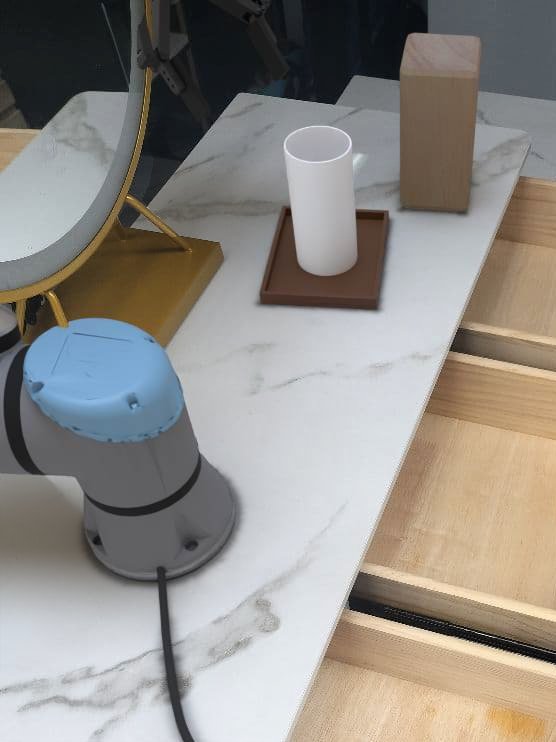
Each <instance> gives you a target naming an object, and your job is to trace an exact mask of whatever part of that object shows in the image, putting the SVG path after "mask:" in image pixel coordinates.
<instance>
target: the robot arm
mask: <svg viewBox="0 0 556 742" xmlns="http://www.w3.org/2000/svg"><path fill="white" fill-rule="evenodd" d="M179 1H180V0H150V3H149V4H150V5H151V9H150V11H151V33H150V29H149V25H148V21H147V15H146V12H145V13H144V16H143V18H142V22H140V23H141V24H139V25H138V30H137V54H139V52H140V51H142V53H141V55H140V56H139V57H138V58H137V63H138V64H136V66H137V65H138V66H137V67H138V68H139V69H140V70H143V71H145V70H146V69H147V68H149V70H150V71H152V73H155V74H157V73H160V75H161V77H162V78H163V80H164V81H165V83H166V85H167V86H168V87H169V89H170V90H171V92H172V93H173V95H175V96H178V95H180V97H181V100H183V102H184V103H185V105H186V107H187V108H188V109H189V111H190V113H191V114H192V116H193V117H194V119H195V121H196V122H197V123H200V122H202V121H203V120H204V119H205V118H206V117H207V116H208V115H209V114H210V113H211V112H212V111H213V110H212V108H211V106H210V104H209V103H208V101H207V100H206V98H205V97H204V95H203V93H202V91H201V90H200V89H199V87H198V85H197V84H196V82H195V81H194V79H193V77H192V76H191V74H190V72H189V71H188V69H187V67H186V66H185V64H183V62H182V60H181V58H180V57H179V56H178V54H177V55H174V56H172V57H170V56H171V54H170V52H171V50H170V49H171V45H170V44H171V23H170V22H171V5H174V4H177V3H178V2H179ZM208 1H209V2H211V3H212V4H214V5H215V6H218V8H220V9H222V10H224V11H225V12H227V13H229V14H230V15H232V16H233V17H235V18H236V19H238V20H240V21H242V22H243V23H245V24H246V25H248V27H247V28H246V29H245V32H246V34H247V35H248V37H249V39H250V40H251V42H252V44H253V46H254V48H255V49H256V51H257V52H258V54H259V56H260V57H261V59H262V61H263V62H264V64H265V66H266V67H267V69H268V71H269V72H270V75H271V76H272V78H273V80H274V81H275V82H278V81H280V80H281V79H282V78H283V77H284V76H285V75H286V74H287V73H288V72H289V71H290V70H291V68H290V66H289V64H288V62H287V61H286V59H285V58H284V56H283V53H282V52H281V51H280V49H279V47H278V45H277V43H278V40H277V37H276V35H275V33H274V32H273V30H272V28H271V26H270V25H269V23H268V22H267V20H266V17H265V13H266V11H267V9H268V8H269V6H270V5H271V0H208ZM67 324H68V326H67V327H62V326H59V325H56V326H53V327H51V328H49V329H48V330H46V331H45V332H43V333H42V334H40V335H39V336H38V337H37V338H35V340H34V341H33V342H32V343H25V342H24V339H23V338H22V337H23V335H22V333H21V329H20V324H19V321H18V317H17V314H16V313H15V312H14V311H13V310H12V309H10V308H8V307H7V306H5V305H4V304H2V303H1V302H0V474H1V475H2V474H3V475H24V476H26V475H28V476H50V477H51V476H55V477H72V478H74V479H76V481H77V483H78V485H79V486H80V488H81V490H82V492H83V528H84V532H85V537H86V539H87V542H88V544H89V546H90V549H91V550H92V552H93V553H94V556H95V557H96V558H97V559H98V560H99V562H100V563H101V564H102V565H103V566H104V567H106V568H107V569H109V570H110V571H111V572H113V573H115V574H117V575H120V576H122V577H125V578H128V579H131V580H137V581H149V582H150V581H157V591H158V604H159V615H160V617H159V619H160V633H161V642H162V651H163V658H164V666H165V673H166V674H165V675H166V681H167V687H168V688H167V689H168V693H169V698H170V703H171V708H172V712H173V716H174V720H175V725H176V727H177V729H178V732H179V735H180V737H181V740H182V741H183V742H195V740H194V738H193V736H192V734H191V732H190V729H189V727H188V725H187V722H186V719H185V716H184V711H183V707H182V702H181V699H180V694H179V689H178V682H177V677H176V676H177V675H176V669H175V661H174V654H173V647H172V639H171V628H170V613H169V601H168V592H167V591H168V589H167V580H169V579H173V578H177V577H181V576H183V575H186V574H188V573H190V572H192V571H194V570H196V569H198V568H200V567H201V566H203V565H205V563H207V562H208V561H210V559H212V558H213V557H214V556H215V555H216V554H218V552H219V551H220V550H221V549H222V548H223V546H224V545H225V543H226V542H227V541H228V539H229V537H230V534H231V532H232V530H233V527H234V523H235V517H236V509H235V508H236V507H235V503H234V498H233V495H232V492H231V489H230V487H229V485H228V483H227V481H226V480H225V478H224V476H223V475H222V474H221V473H220V471H219V470H218V469H217V468H216V467H214V465H213V464H212V463H210V462H209V461H208V460H207V458H206V457H205V456H204V455H203V453H202V452H201V451H200V448H199V443H198V439H197V437H196V435H195V430H194V428H193V424H192V421H191V418H190V414H189V410H188V408H187V405H186V401H185V396H184V390H183V387H182V383H181V380H180V378H179V376H178V374H177V373H176V371H175V369H174V366H173V364H172V362H171V359H170V357H169V356H168V353H167V351H166V350H165V349H164V348H163V346H161V344H159V342H157V340H156V339H155V338H154V337H153V336H152V335H150V334H149V333H148V332H146V331H145V330H144V329H142V328H140V327H138V326H136V325H133V324H130V323H127V322H125V321H121V320H118V319H112V318H106V317H105V318H104V317H102V318H101V317H88V318H86V317H85V318H79V319H74V320H70V321H68V323H67Z"/></svg>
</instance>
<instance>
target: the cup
mask: <svg viewBox="0 0 556 742" xmlns="http://www.w3.org/2000/svg"><path fill="white" fill-rule="evenodd" d="M283 154H284V159H285V170H286V177H287V186H288V187H287V188H288V193H289V202H290V206H291V211H292V219H293V227H294V236H295V244H296V252H297V260H298V263H299V265H300V266H301V267H302V268H303V269H304V270H305V271H307V272H309V273H311V274H314V275H319V276H333V275H338V274H341V273H344V272H346V271H348V270H349V269H351V268H352V267H353V266H354V265H355V263H356V261H357V258H358V253H357V233H356V214H355V209H356V197H355V196H356V194H355V176H354V175H355V174H354V158H353V144H352V139H351V137H350V136H349V134H348V133H346V132H345V131H343V130H341V129H339V128H337V127H333V126H328V125H312V126H306V127H302V128H299V129H297V130H294V131H292V133H290V134H288V136H287V137H286V138H285V140H284V142H283Z"/></svg>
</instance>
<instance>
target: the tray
mask: <svg viewBox="0 0 556 742" xmlns="http://www.w3.org/2000/svg"><path fill="white" fill-rule="evenodd" d="M355 214H356V233H357V253H358V258H357V261H356V263H355V265H354V266H353V267H352V268H351V269H349V270H348V271H346V272H344V273H341V274H338V275H333V276H319V275H314V274H311V273H309V272H307V271H305V270H304V269H303V268H302V267H301V266H300V265H299V263H298V260H297V252H296V244H295V236H294V227H293V219H292V211H291V205H282V207H281V209H280V214H279V217H278V221H277V224H276V225H277V226H276V229H275V233H274V236H273V239H272V244H271V247H270V252H269V255H268V259H267V263H266V266H265V270H264V273H263V278H262V282H261V286H260V290H259V299H260V304H261V305H262V304H263V305H281V306H282V305H283V306H284V305H285V306H299V307H300V306H301V307H302V306H303V307H321V308H341V309H342V308H343V309H360V310H362V309H363V310H378V304H379V297H380V290H381V289H380V288H381V282H382V274H383V267H384V260H385V253H386V245H387V240H388V231H389V224H390V210H387V209H367V208H366V209H365V208H355Z"/></svg>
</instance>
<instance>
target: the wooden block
mask: <svg viewBox="0 0 556 742" xmlns="http://www.w3.org/2000/svg"><path fill="white" fill-rule="evenodd" d="M482 46H483V44H482V41H481V38H480V37H478V36H476V35H461V34H442V33H425V32H424V33H423V32H412V33H409V34H408V35H407V37H406V39H405V43H404V49H403V53H402V57H401V63H400V68H399V201H400V204H401V206H402V207H403V208H405V209H416V210H429V211H431V210H432V211H445V212H446V211H448V212H465V211H467V210H468V207H469V206H470V199H471V187H472V176H473V164H474V152H475V151H474V150H475V139H476V138H475V137H476V125H477V111H478V97H479V83H480V74H481V71H480V70H481V62H482V61H481V59H482Z"/></svg>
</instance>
